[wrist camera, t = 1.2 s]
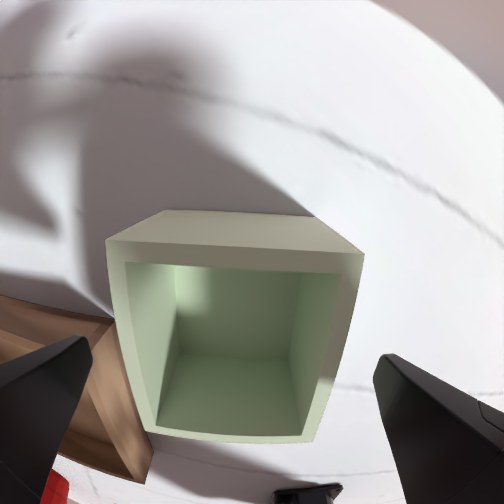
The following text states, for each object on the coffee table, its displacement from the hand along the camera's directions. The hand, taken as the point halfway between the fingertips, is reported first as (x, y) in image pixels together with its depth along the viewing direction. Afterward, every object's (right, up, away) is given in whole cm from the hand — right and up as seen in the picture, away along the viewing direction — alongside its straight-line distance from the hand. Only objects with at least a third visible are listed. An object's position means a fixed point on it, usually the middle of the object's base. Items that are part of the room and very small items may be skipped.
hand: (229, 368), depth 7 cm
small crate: (0, +1, +4) cm, 5 cm away
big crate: (-13, -6, +6) cm, 16 cm away
